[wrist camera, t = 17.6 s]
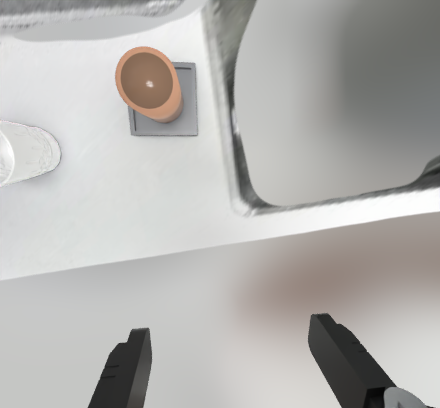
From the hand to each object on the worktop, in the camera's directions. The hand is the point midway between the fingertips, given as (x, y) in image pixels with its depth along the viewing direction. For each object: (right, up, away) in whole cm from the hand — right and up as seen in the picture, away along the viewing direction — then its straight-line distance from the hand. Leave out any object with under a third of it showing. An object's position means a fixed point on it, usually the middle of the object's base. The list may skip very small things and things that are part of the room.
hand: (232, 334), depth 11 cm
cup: (-9, +21, +22) cm, 32 cm away
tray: (-9, +22, +22) cm, 32 cm away
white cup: (-28, +14, +22) cm, 39 cm away
